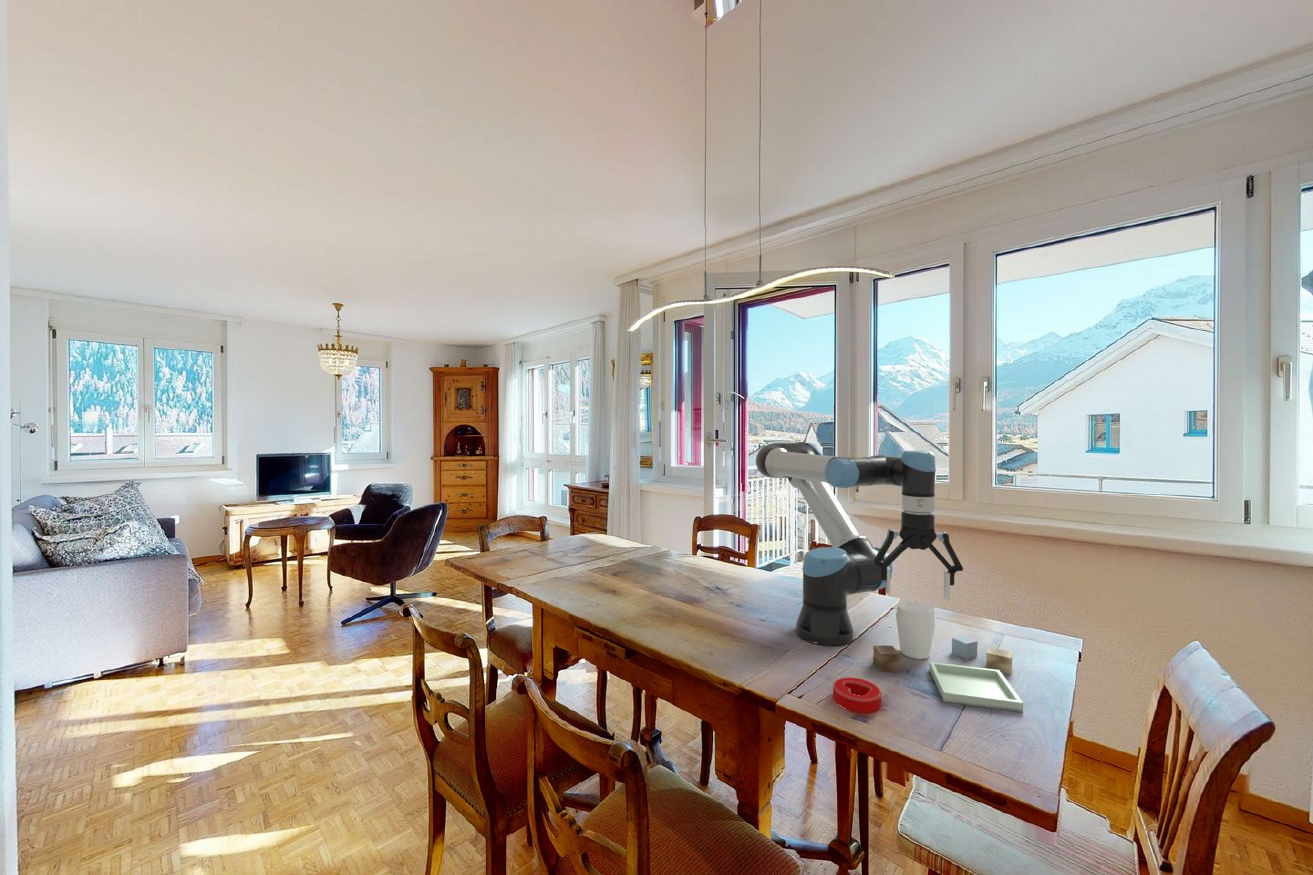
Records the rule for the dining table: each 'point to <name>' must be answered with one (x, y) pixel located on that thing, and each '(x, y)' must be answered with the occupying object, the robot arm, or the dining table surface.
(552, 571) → the dining table surface
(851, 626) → the robot arm
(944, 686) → the tray
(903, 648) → the cup
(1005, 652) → the oak block
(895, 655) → the walnut block
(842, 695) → the decorative ornament
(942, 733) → the dining table surface
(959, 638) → the slate blue block
